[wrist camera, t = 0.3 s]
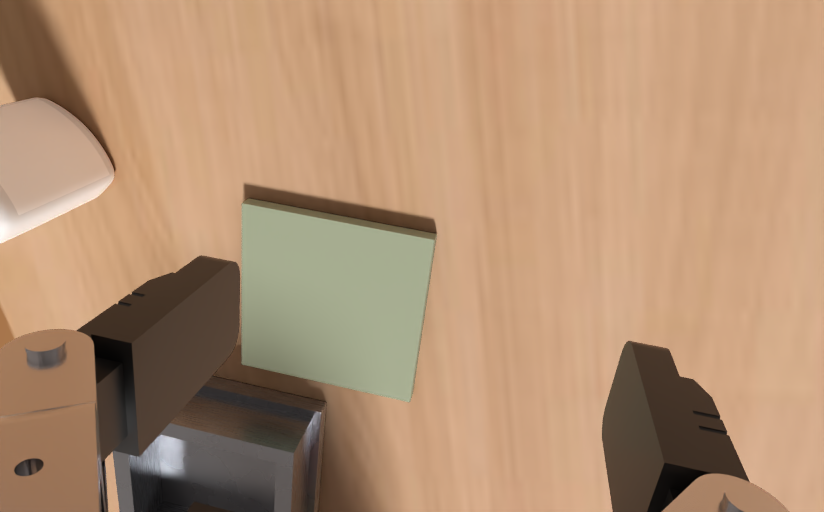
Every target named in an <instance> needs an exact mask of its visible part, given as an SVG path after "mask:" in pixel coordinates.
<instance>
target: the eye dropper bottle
mask: <svg viewBox="0 0 824 512" xmlns="http://www.w3.org/2000/svg"><path fill="white" fill-rule="evenodd" d="M114 176H115V173H114V168H113V166H112V163H111V161H110V159H109V158H108V156H107V154H106V152H105V151H104V149H103V147H102V146H101V144H100V143H99V142H98V140H97V139H96V138H95V136H94V135H93V134H92V133H91V132H90V130H89V129H88V128H87V127H86V126H85V125H84V124H83V123H82V122H81V121H80V120H78V119H77V118H76V117H75V116H74V115H72V114H71V113H70V112H68V111H67V110H65V109H64V108H62V107H61V106H59V105H57V104H56V103H54V102H52V101H50V100H48V99H45V98H38V97H35V98H30V99H26V100H21V101H17V102H13V103H9V104H4V105H0V243H3V242H5V241H7V240H9V239H12V238H14V237H16V236H18V235H20V234H23V233H25V232H27V231H29V230H31V229H33V228H35V227H37V226H39V225H41V224H43V223H45V222H48V221H50V220H52V219H54V218H56V217H58V216H60V215H62V214H64V213H66V212H68V211H70V210H72V209H74V208H76V207H78V206H80V205H82V204H85V203H87V202H89V201H91V200H93V199H95V198H97V197H98V196H99V195H100V194H101V193H102V192H103V191H104V190H105V189H106V188H107V187H108V186H109V185H110V184H111V183H112V181H113V179H114Z"/></svg>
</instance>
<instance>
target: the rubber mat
mask: <svg viewBox="0 0 824 512" xmlns="http://www.w3.org/2000/svg"><path fill="white" fill-rule="evenodd" d="M436 237H437V234H435V233H429V232H424V231H419V230H414V229H408V228H403V227H398V226H393V225H387V224H382V223H377V222H372V221H366V220H361V219H356V218H350V217H345V216H340V215H335V214H329V213H324V212H319V211H314V210H308V209H303V208H298V207H292V206H287V205H282V204H277V203H271V202H266V201H261V200H256V199H250V198H248V199H247V200H245V201H244V202H243V203H242V365H246V366H251V367H255V368H260V369H264V370H269V371H273V372H277V373H282V374H286V375H291V376H295V377H300V378H304V379H309V380H313V381H317V382H322V383H326V384H331V385H335V386H340V387H344V388H348V389H353V390H357V391H362V392H366V393H371V394H375V395H379V396H384V397H388V398H393V399H397V400H402V401H406V402H410V401H411V398H412V394H413V388H414V382H415V375H416V369H417V362H418V356H419V349H420V342H421V336H422V329H423V323H424V316H425V309H426V303H427V296H428V290H429V283H430V276H431V270H432V263H433V257H434V250H435V244H436Z"/></svg>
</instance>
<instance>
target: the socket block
mask: <svg viewBox="0 0 824 512" xmlns="http://www.w3.org/2000/svg"><path fill="white" fill-rule="evenodd" d="M326 403H327V402H323V401H319V400H314V399H310V398H306V397H301V396H297V395H293V394H288V393H284V392H280V391H275V390H271V389H267V388H262V387H258V386H253V385H249V384H245V383H240V382H236V381H232V380H227V379H223V378H219V377H214V376H211V377H210V379H209V380H208V381H207V382H206V383H205V384H204V385H203V386H202V388H201V389H200V390H199V391H198V392H197V393H196V394H195V395H194V396H193V398H192V399H191V400H190V401H189V402H188V403H187V404H186V405H185V407H184V408H183V409H182V410H181V411H180V412H179V413H178V414H177V416H176V417H175V418H174V419H173V420H172V421H171V422H170V423H169V424H168V426H167V427H166V428H165V429H164V430H163V431H162V432H161V433H160V435H159V436H158V437H157V438H156V439H155V440H154V441H153V442H152V443H151V445H150V446H149V447H148V448H147V449H146V450H145V451H144V452H143V454H142V455H141V456H140V457H137V456H133V455H129V454H125V453H121V452H117V451H113V458H114V467H115V475H116V484H117V492H118V501H119V509H120V512H187V511H188V509H189V508H190V507H191V505H192V504H193V502H198V503H201V504H205V505H209V506H213V507H217V508H221V509H225V510H229V511H233V512H318V507H319V494H320V481H321V468H322V455H323V442H324V429H325V416H326Z"/></svg>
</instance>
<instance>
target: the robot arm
mask: <svg viewBox="0 0 824 512" xmlns="http://www.w3.org/2000/svg"><path fill="white" fill-rule="evenodd" d="M239 305H240V271H239V266H238V264H237V263H236V262H232V261H227V260H222V259H217V258H212V257H207V256H199V257H197V258H196V259H194V260H193V261H191V262H190V263H189V264H187V265H186V266H184V267H183V268H182V269H180V270H179V271H178V272H176V273H169V274H166V275H163V276H161V277H158V278H155V279H152V280H149V281H147V282H146V283H144V284H143V285H142V286H140V287H139V288H137V289H136V290H134V291H133V292H132V295H130V294H129V295H127V296H126V297H124V298H123V299H121V300H120V301H119V303H118V304H114V305H113V306H111V307H110V308H108V309H107V310H105V311H104V312H103V313H101V314H100V315H98V316H97V317H95V318H94V319H92V320H91V321H90V322H88V323H87V324H85V325H84V326H82V327H81V328H80V329H78V330H77V331H74V330H67V329H52V330H43V331H37V332H33V333H29V334H26V335H23V336H21V337H18V338H16V339H14V340H12V341H10V342H9V343H7V344H5V345H4V346H3V347H2V348H1V349H0V512H108V499H107V482H106V467H105V459H106V458H107V456H108V455H109V454H110V453H111V452H112V451H117V452H121V453H125V454H129V455H133V456H137V457H140V456H141V455H142V454H143V452H144V451H145V450H146V449H147V448H148V447H149V446H150V445H151V443H152V442H153V441H154V440H155V439H156V438H157V437H158V436H159V435H160V433H161V432H162V431H163V430H164V429H165V428H166V427H167V426H168V424H169V423H170V422H171V421H172V420H173V419H174V418H175V417H176V416H177V414H178V413H179V412H180V411H181V410H182V409H183V408H184V407H185V405H186V404H187V403H188V402H189V401H190V400H191V399H192V398H193V396H194V395H195V394H196V393H197V392H198V391H199V390H200V389H201V388H202V386H203V385H204V384H205V383H206V382H207V381H208V380H209V379H210V377H211V376H212V375H213V374H214V373H215V372H216V371H217V370H218V369H219V367H220V366H221V365H222V364H223V363H224V362H225V361H226V360H227V358H228V357H229V356H230V355H231V353H232V351H233V349H234V347H235V345H236V342H237V338H238V333H239ZM602 441H603V448H604V454H605V461H606V468H607V475H608V482H609V488H610V495H611V502H612V509H613V512H789V511H788V510H787V509H786V508H785V506H784V505H783V504H781V503H780V502H779V501H778V500H777V499H776V498H775V497H773V496H772V495H771V494H769V493H768V492H766V491H765V490H763V489H762V488H760V487H758V486H756V485H754V484H753V483H750V482H749V480H748V477H747V475H746V473H745V471H744V468H743V466H742V464H741V462H740V459H739V457H738V455H737V453H736V450H735V448H734V446H733V444H732V441H731V439H730V437H729V436H728V435H727V430H726V428H725V426H724V424H723V421H722V420H720V415H719V412H718V410H717V408H716V406H715V403H714V401H713V399H712V397H711V396H710V395H709V394H708V393H707V392H706V391H705V390H704V389H703V388H702V387H701V386H700V385H699V384H698V383H697V382H695V381H694V380H693V379H689V378H684V377H680V376H679V374H678V371H677V369H676V366H675V363H674V361H673V358H672V356H671V353H670V351H669V349H667V348H662V347H657V346H652V345H647V344H642V343H637V342H632V341H628V342H626V344H625V346H624V348H623V350H622V354H621V357H620V360H619V364H618V367H617V370H616V374H615V377H614V380H613V384H612V387H611V390H610V394H609V397H608V400H607V404H606V407H605V411H604V417H603V424H602ZM187 512H233V511H229V510H225V509H221V508H217V507H213V506H209V505H205V504H201V503H198V502H193V504H192V505H191V507H190V508H189V509H188V511H187Z"/></svg>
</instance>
